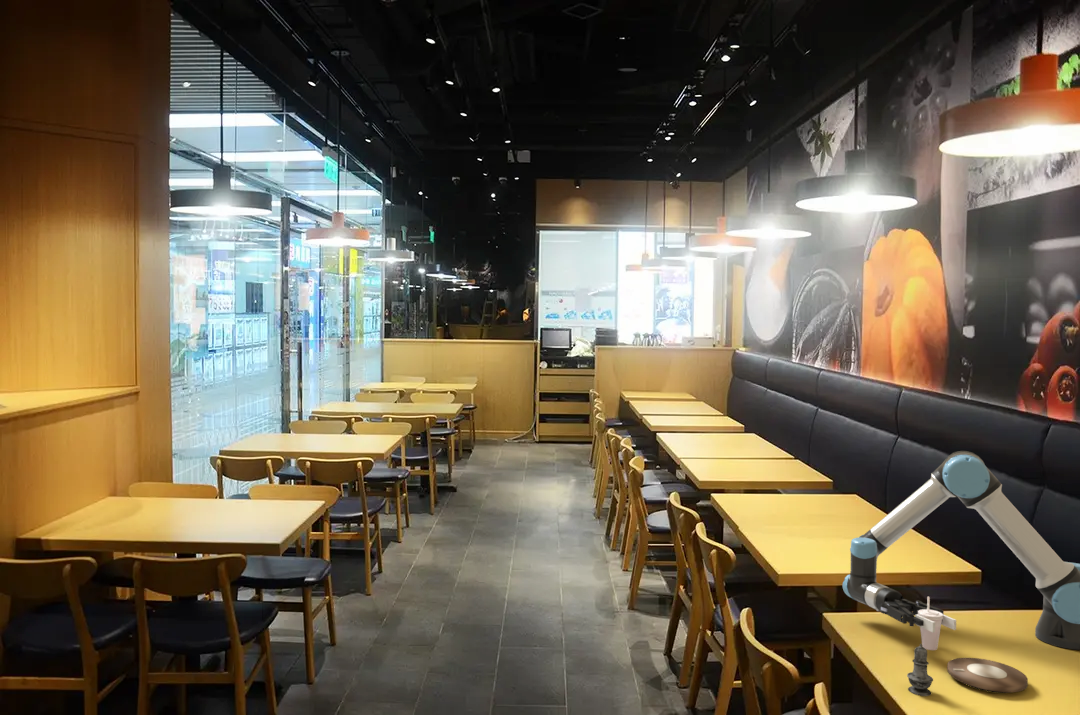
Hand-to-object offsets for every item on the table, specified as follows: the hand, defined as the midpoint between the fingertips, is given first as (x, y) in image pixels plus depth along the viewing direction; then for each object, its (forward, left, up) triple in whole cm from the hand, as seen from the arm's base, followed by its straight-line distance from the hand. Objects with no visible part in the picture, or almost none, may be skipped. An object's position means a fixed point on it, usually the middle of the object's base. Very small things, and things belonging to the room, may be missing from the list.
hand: (944, 626), depth 217 cm
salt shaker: (+14, +18, -11) cm, 25 cm away
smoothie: (+2, -5, -8) cm, 9 cm away
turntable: (-6, +10, -9) cm, 15 cm away
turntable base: (-6, +10, -10) cm, 16 cm away
